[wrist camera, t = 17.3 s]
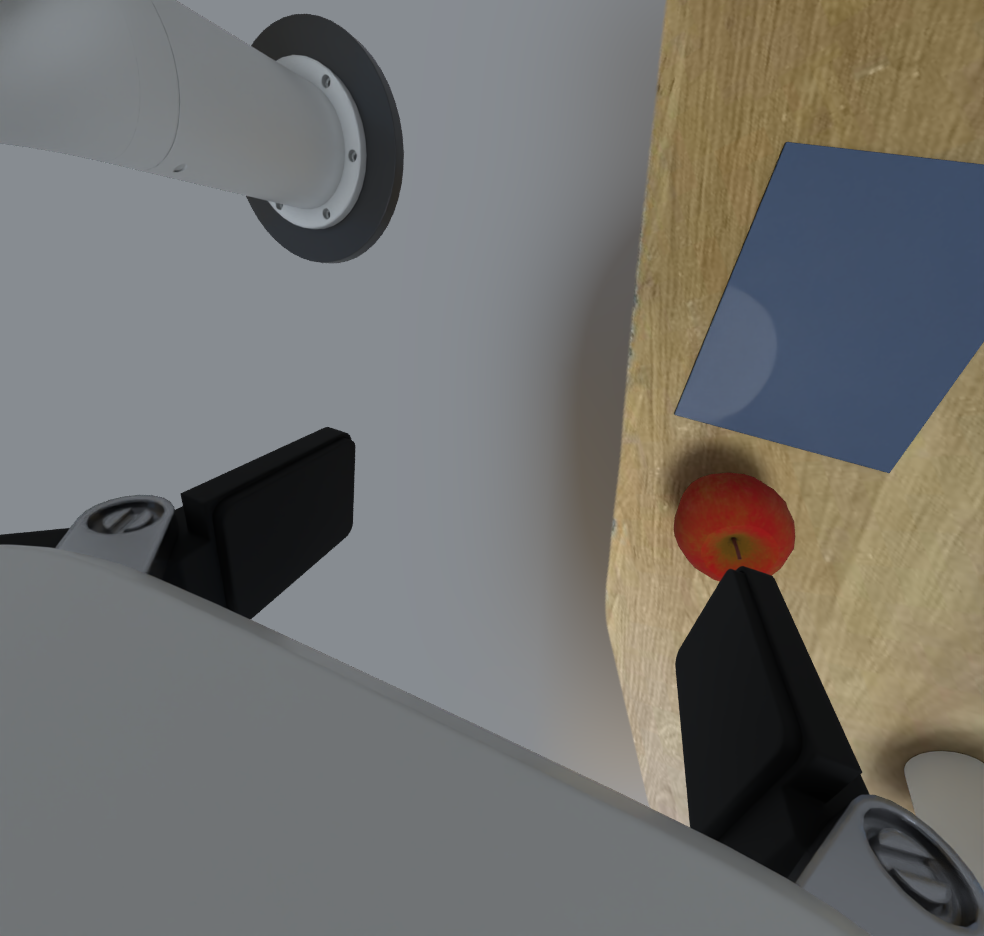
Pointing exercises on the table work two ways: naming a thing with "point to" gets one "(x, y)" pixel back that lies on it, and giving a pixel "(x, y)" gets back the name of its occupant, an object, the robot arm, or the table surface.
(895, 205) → the napkin
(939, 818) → the cup
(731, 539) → the apple
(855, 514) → the table surface
